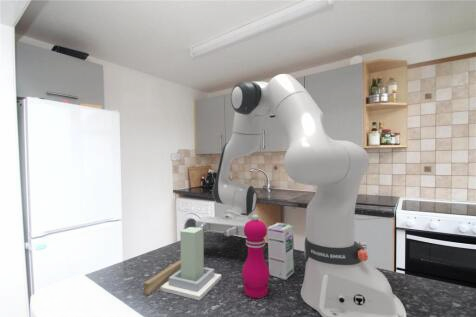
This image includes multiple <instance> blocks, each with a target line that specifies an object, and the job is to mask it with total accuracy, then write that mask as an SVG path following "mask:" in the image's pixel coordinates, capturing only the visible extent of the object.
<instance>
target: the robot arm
mask: <svg viewBox="0 0 476 317" xmlns="http://www.w3.org/2000/svg"><path fill="white" fill-rule="evenodd" d="M230 102H231V106H232V108H233V110H234V117H233V124H232V132H231V133H232V135H231V137H230V139H229V142H227V143H225V144H224V145H223V146H222V147H223V148H222V150H221V154H220V158H219V163H218V167H217V172H216V177H215V181H214V183H213V185H212V189H211V196H212V197H213V200H214V201H215V202H216V203H217V204H223V205H228V206H232V207H231V208H229V209H227V210H225V211H223V212H221V213H220V215H219V216H204V217H200V218H198V219H196V220H195V228H203V233H205V232H209V233H218V234H223V236H224V237H231V236H232V235H234V236H241V237H246V236H245V234H244V227H245V224H246V223H247V222H249V221H251V220H252V216H253V215H254V211H255V209H256V207H257V202H258V193H257V191H256V189H255V187H254V186H253V185H252V184H251V185H250V184H246V183H241V182H237V181H236V182H235V181H232V180H230V179H229V176H230V170H231V167H232V162H233V161H234V159H237V158H241V157H246V156H248V155H249V156H250V155H251V154H253V153H255V152H256V151H257V150H259V148H260V145H261V141H262V133H263V121H264V119H265V118H267V117H269V118H271V119H272V118H276V119H277V120H276V121H278V123H279V124H280V127H281V128H282V130H283V132H284V134H285V136H286V138H287V143H288V148H287V150H286V152H285V155H284V159H283V160H284V161H283V162H284V163H283V164H284V169H285V173H286V174H287V176H288V177H289V178H290V179H291V180H292V181H293V182H295V183H298V184H301V185H305V186H311V187H313V186H314V187H315V186H316V190H315V193H314V195H313V197H312V199H311V200H310V202H308V204H307V207H306V210H305V211H306V212H305V213H306V214H305V216H306V218H305V219H306V223H305V224H306V225H305V226H306V236H305V239H304V242H303V243H304V247H303V248H304V261H305V269H304V270H305V271H304V275H303V276H304V278H303V281H302V282H303V283H302V285H301V289H300V296H301V298H302V300H303V301H304V302H305V303H306V305H308V306H310V308H313V309H314V310H316V311H317V312H318V313H319V315H320V316H321V317H407V312H406V309H405V306H404V305H403V303H402V301H401V300H400V298H399V297H397V295H396V294H394V293H393V290H392V286H391V284H390V283H389V280H388V279H387V277H386V276H385V274H384V273H382V272H381V271H380V270H378V269H377V268H376V267H375V266H373V265H372V264H371V263H370V262H369V261H367V260H369V255H368V252H367V251H366V250H365V247H364V246H363V244H361V242H359V243H358V242H357V241H355V212H356V206H357V205H356V204H357V200H358V195H359V192H360V187H361V184H362V179H363V177H364V175H365V174H366V172H368V169H369V166H370V157H369V154H368V153H367V150H365V149H364V148H363V147H362V146H361V145H359V144H357V143H355V142H352V141H349V140H340V139H338V140H337V139H333V138H331V137H330V136H329V135H328V134H327V132H326V130H325V128H324V125H323V124H324V122H325V115H324V112H323V111H322V110H321V108H320V107H319V105H318V104H317V103H316V101H315V100H314V99H313V98H312V96H311V94H310V93H309V92H308V90H307V89H306V88H305V87H304V86H303V85H302V83H300V82H299V81H298V80H297V79H296V78H295V77H294V76H292V75H291V74H288V73H281V74H277V75H276V76H275V75H274V76H273V77H272V78H271V79H270V80H269V82H267V81H251V80H245V81H244V80H242V81H239V82H237V83H236V84H235V85H234V86H233V88H232V90H231V93H230Z"/></svg>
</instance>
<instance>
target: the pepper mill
mask: <svg viewBox="0 0 476 317" xmlns="http://www.w3.org/2000/svg"><path fill="white" fill-rule="evenodd" d="M244 234H245V236H244V237H246V239H245V245H246V247H247V257H246V260H245V262H244V264H243V267H242V272H241V278H242V280H243V282H244V284H243V292H244V294H245V295H246V296H247V297H250V298H255V299H259V298H263V297H265V296H266V295H267V294H268V293H269V284H268V281H270V278H271V277H270V276H271V275H270V273H269V265H268V263H267V262H266V260H265V255H264V247H265V245H266V239H265V237H266V235H268V227H267V225H266V224H265V223H264V222H263V221H262V220H259V216H258V214H254V213H253V216H252V220H251V221H249V222H247V223H246V224H245V227H244Z"/></svg>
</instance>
